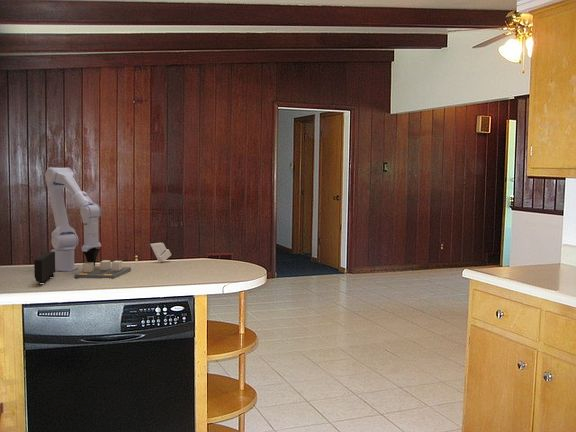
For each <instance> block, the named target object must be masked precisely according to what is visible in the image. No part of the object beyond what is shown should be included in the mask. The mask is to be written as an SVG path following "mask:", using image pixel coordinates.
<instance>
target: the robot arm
mask: <svg viewBox="0 0 576 432" xmlns="http://www.w3.org/2000/svg"><path fill="white" fill-rule="evenodd" d="M44 178H45V182H46V183H45V184H46V187H47V190H48V194H49V199H50V200H49V201H50V205H51V209H52V215H53V219H54V224H55V229H53V231H52V232H51V242H50V243H51V245H52V247H53V249H51V250H50V252H55V272H71V271H74V270H77V269H79V266H75V250H76V247H77V246H78V245H79V237H78V234H77V233H76V230H75V228H74V227H72V226H71V225H70V223H69V218H68V213H67V208H66V202H65V199H64V194H63V190H64V189H65V188H67V189H68V191H69V192H71V195H72V196H73V201H74V203H75V204H76V206H77V207H78V208H79V210H80V211H79V213H80V216H81V219H82V220H81V221H82V223H83V246H81V252H82V253H83V255H84V256H85V258H86V262H94V266H96V262H97V258H98V255H99V253H100V250H101V249H100V248H101V247H102V243H101V242H100V241H99V218H100V217H101V216H102V207H101V206H100V205H99V204H97V203H95V202H93V200H92V199H91V197H90V196H89V195H88V193H87V192H86V191H83V190H81V188H80V186H79V185H78V183H77V182H76V180H75V173H74V172H73V170H72V169H71V168H70V167H52V166H50V167H48V168H47V170H46V171H45V173H44Z"/></svg>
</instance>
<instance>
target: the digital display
mask: <svg viewBox="0 0 576 432" xmlns="http://www.w3.org/2000/svg"><path fill="white" fill-rule="evenodd" d="M33 265H34V268H33V269H34V271H33V272H34V274H33V275H34V278H35V281H36V282H38V284H39V283H45V284H46V280H47V279H49V278H48V277H53V278H54V277H55V275H54V273H55V272H56V271H55V252H51V251H46V252H45V253H43V254H42V255H40V256H38V257H36V258H34V261H33Z"/></svg>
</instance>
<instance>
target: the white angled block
mask: <svg viewBox="0 0 576 432" xmlns="http://www.w3.org/2000/svg"><path fill="white" fill-rule="evenodd" d="M149 244H150V247H151V249H152V251H153V253H154V256H155V258H156V259H157V261H158V262H162V263H164V262H165V261H166V260H168V259H169V258H170V257H171V256H172V253H171V251H170V249H167V247H166V245H165V243H164V242H155V243H149Z"/></svg>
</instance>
